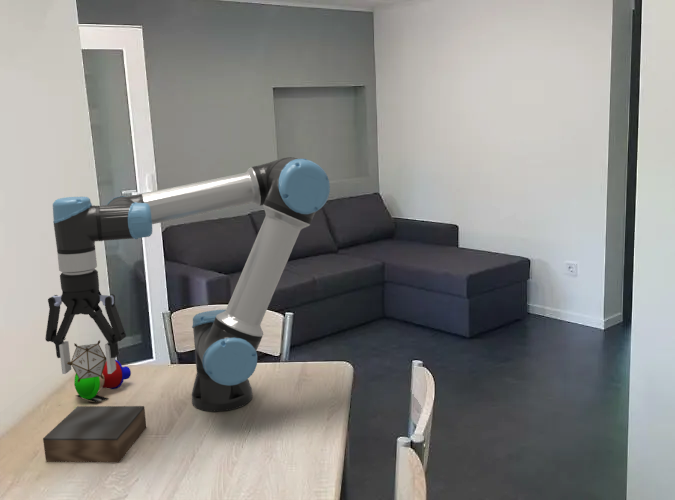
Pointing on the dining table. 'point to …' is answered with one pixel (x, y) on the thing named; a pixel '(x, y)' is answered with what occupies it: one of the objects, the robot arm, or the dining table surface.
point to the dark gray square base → (95, 434)
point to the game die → (88, 361)
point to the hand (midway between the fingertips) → (89, 371)
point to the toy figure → (101, 382)
